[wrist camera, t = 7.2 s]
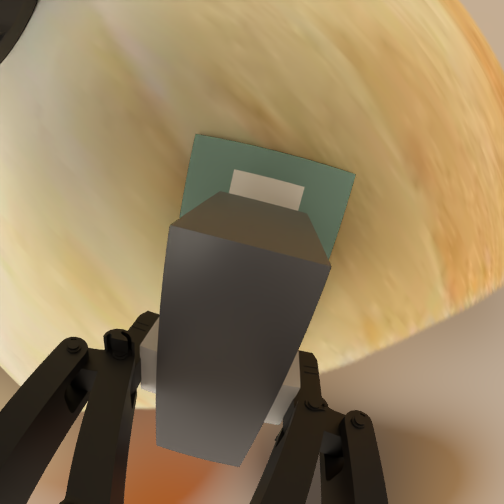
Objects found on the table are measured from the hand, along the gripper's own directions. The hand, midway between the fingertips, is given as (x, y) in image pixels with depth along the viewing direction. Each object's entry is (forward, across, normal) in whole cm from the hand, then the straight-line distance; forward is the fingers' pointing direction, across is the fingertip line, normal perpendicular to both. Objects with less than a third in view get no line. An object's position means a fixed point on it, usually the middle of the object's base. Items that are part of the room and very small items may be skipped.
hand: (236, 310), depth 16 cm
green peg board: (+7, 0, 0) cm, 7 cm away
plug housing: (+1, 0, 0) cm, 1 cm away
